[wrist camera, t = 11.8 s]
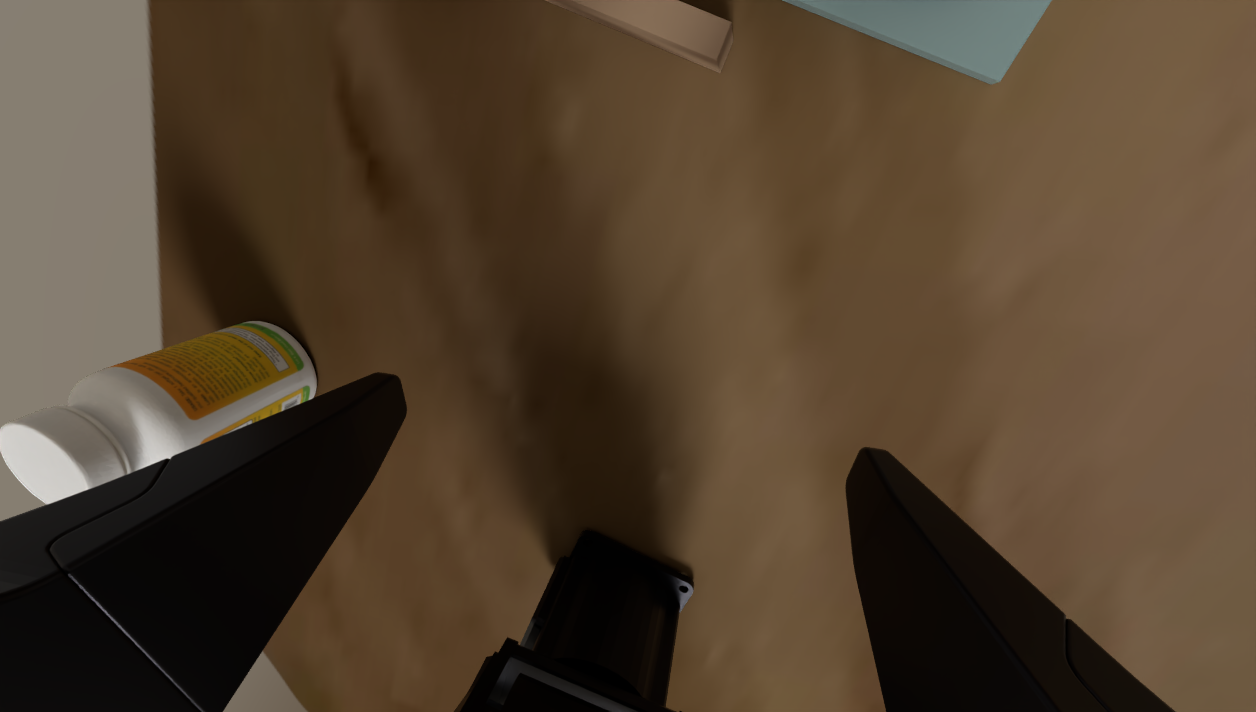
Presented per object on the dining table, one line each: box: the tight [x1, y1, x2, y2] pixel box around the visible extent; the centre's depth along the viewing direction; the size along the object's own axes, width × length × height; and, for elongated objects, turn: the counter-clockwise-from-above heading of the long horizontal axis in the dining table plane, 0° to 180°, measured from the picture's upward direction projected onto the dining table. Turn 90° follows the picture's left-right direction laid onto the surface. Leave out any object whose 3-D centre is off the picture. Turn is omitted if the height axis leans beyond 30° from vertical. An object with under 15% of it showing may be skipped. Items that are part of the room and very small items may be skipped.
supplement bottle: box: [0, 321, 317, 504], centre depth 22 cm, size 5×5×10 cm
